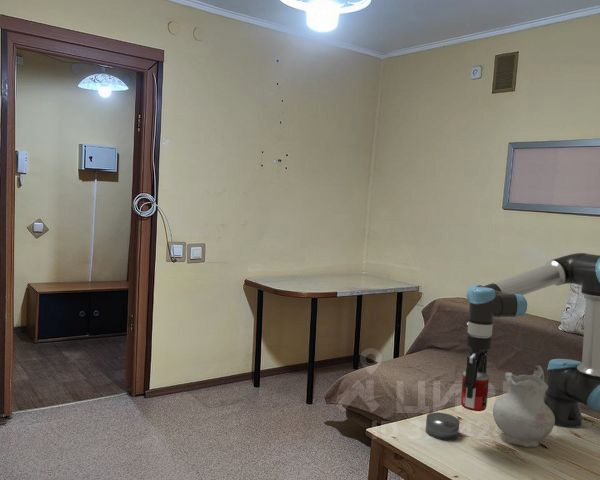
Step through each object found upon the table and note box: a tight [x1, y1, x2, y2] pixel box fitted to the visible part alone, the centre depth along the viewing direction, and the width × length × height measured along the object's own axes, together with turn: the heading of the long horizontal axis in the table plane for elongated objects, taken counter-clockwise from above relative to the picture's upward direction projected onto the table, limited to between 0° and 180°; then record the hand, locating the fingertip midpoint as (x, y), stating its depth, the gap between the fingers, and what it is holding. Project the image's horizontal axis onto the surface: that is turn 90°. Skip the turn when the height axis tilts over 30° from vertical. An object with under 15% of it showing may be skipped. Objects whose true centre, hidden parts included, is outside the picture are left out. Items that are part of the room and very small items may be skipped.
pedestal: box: [425, 412, 460, 442], centre depth 179 cm, size 11×11×5 cm
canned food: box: [460, 370, 490, 412], centre depth 169 cm, size 8×8×11 cm
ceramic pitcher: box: [492, 364, 555, 448], centre depth 178 cm, size 22×20×25 cm
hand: (473, 403), depth 169 cm, fingers closed on canned food, 8 cm apart
